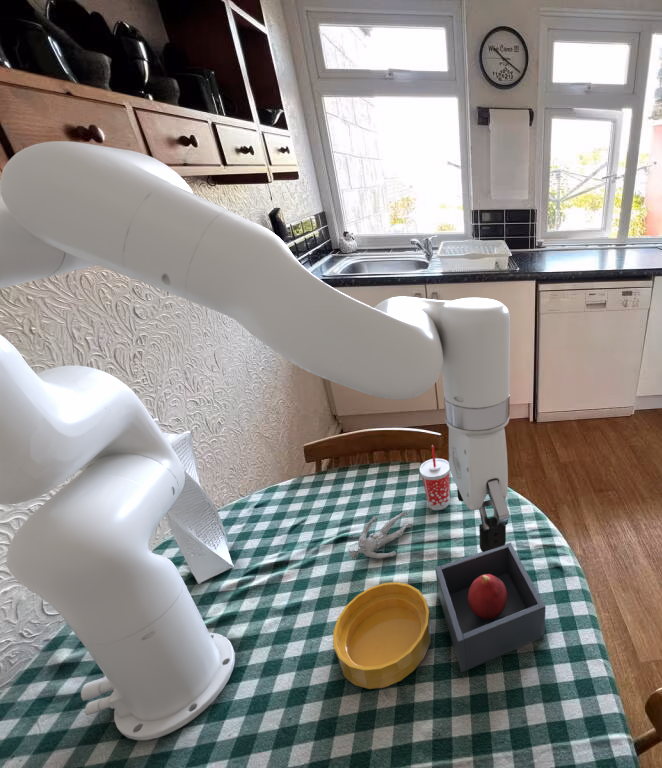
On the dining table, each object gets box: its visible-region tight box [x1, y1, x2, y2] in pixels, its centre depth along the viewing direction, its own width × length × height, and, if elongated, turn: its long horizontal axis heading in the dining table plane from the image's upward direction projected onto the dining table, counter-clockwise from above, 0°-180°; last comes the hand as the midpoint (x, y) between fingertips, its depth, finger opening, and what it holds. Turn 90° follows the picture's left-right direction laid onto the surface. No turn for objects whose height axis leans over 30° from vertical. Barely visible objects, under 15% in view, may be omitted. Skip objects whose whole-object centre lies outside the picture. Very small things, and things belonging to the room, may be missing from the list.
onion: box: [468, 574, 508, 620], centre depth 61 cm, size 6×6×8 cm
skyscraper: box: [153, 417, 235, 585], centre depth 66 cm, size 8×8×28 cm
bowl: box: [332, 581, 433, 690], centre depth 59 cm, size 13×13×4 cm
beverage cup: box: [419, 445, 451, 511], centre depth 83 cm, size 6×6×14 cm
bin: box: [434, 542, 546, 673], centre depth 62 cm, size 13×13×7 cm
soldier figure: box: [347, 510, 414, 561], centre depth 75 cm, size 8×5×12 cm
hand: (480, 520), depth 55 cm, fingers open, 9 cm apart
